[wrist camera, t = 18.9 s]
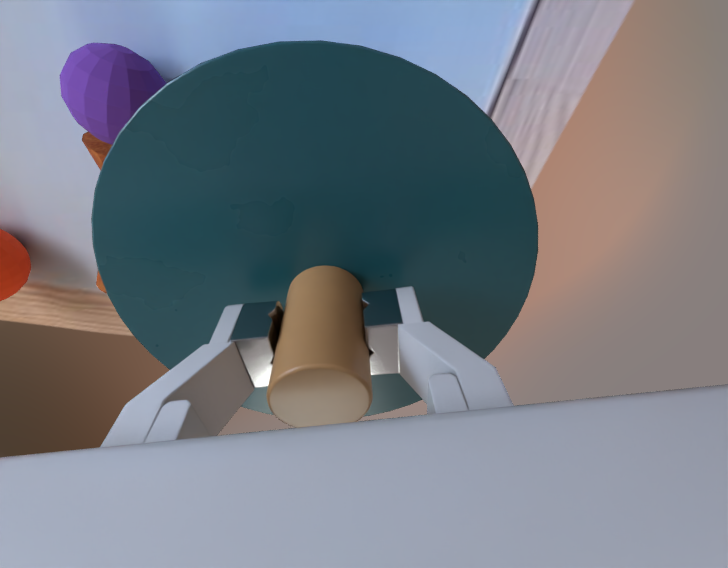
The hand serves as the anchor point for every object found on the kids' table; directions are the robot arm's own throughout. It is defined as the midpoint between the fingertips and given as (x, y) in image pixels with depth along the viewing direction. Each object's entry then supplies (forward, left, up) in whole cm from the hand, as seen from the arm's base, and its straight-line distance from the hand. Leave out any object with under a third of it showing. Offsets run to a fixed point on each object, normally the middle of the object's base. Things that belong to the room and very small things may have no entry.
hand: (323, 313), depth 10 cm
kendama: (+2, -17, -22) cm, 27 cm away
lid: (0, 0, -2) cm, 2 cm away
